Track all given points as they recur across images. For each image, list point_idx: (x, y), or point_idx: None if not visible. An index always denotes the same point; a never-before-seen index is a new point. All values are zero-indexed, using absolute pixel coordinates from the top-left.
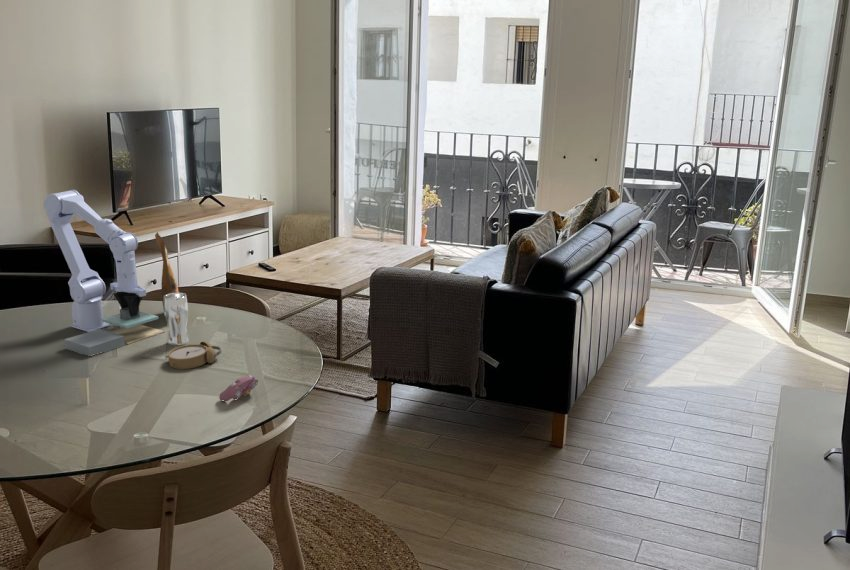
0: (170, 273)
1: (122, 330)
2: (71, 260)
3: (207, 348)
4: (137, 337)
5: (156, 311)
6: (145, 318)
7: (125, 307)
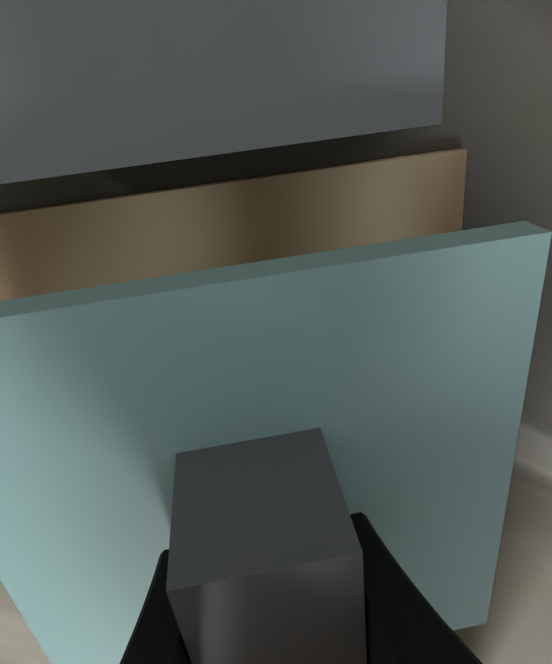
0: None
1: None
2: None
3: None
4: None
5: (527, 658)
6: (94, 619)
7: (371, 640)
